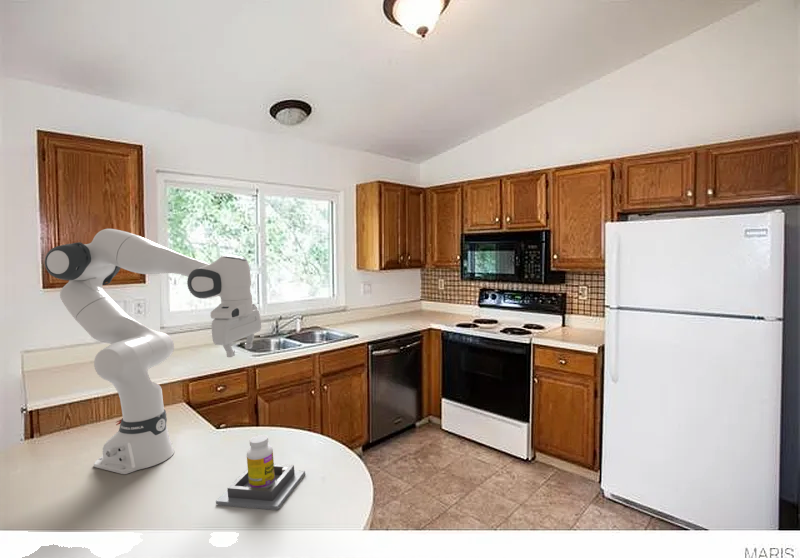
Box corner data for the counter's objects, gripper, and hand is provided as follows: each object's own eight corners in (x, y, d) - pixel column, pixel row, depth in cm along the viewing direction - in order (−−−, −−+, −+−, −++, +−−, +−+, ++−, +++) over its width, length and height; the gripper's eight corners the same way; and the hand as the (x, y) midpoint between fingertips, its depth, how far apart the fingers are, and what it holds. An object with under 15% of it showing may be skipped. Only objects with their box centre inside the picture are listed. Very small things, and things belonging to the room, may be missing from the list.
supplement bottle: (267, 493, 108) (263, 445, 107) (244, 491, 109) (240, 444, 108) (279, 478, 115) (276, 433, 113) (257, 477, 116) (254, 432, 115)
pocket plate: (216, 504, 106) (214, 491, 106) (250, 470, 122) (249, 459, 121) (277, 510, 102) (276, 496, 102) (305, 474, 118) (304, 462, 118)
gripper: (247, 302, 138) (250, 343, 139) (206, 313, 118) (209, 361, 120) (264, 303, 137) (267, 344, 138) (226, 314, 117) (229, 362, 118)
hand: (240, 352), depth 129 cm, fingers open, 8 cm apart
